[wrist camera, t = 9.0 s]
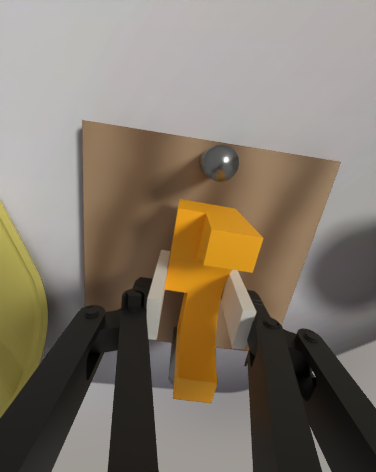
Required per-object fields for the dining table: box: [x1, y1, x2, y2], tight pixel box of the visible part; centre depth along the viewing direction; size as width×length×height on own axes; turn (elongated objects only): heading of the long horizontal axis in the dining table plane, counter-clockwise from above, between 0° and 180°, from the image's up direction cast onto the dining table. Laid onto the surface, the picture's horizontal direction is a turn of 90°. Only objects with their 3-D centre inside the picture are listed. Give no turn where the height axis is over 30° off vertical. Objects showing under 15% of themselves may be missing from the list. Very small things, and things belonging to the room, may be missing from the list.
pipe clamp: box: [165, 199, 263, 403], centre depth 15 cm, size 12×4×6 cm, turn 170°
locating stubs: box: [169, 145, 239, 385], centre depth 17 cm, size 2×19×5 cm, turn 171°
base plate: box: [82, 120, 341, 351], centre depth 20 cm, size 20×20×1 cm
